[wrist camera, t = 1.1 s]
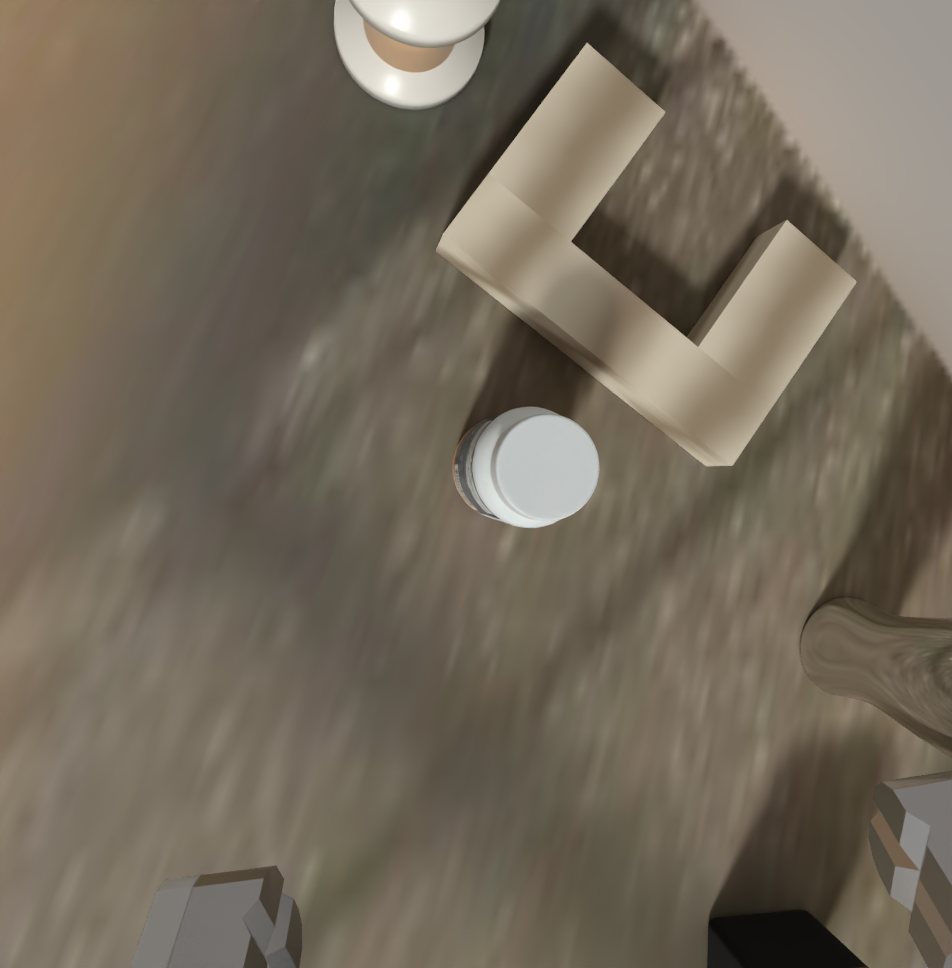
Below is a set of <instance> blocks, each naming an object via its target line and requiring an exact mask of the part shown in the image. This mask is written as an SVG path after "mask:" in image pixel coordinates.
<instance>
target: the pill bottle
mask: <svg viewBox="0 0 952 968" xmlns="http://www.w3.org/2000/svg"><path fill="white" fill-rule="evenodd" d="M598 476H599V459H598V454H597V450H596V447H595V445H594V443H593V441H592V439H591V438H590V436H589V435H588V433H587V432H586V431H585V430H584V429H583V428H582V427H581V426H580V425H578V424H577V423H576V422H574V421H572V420H571V419H569V418H566V417H564V416H560V415H559V414H557V413H555V412H553V411H550V410H547V409H544V408H541V407H519V408H515V409H511V410H508V411H506V412H503V413H501V414H498V415H496V416H493V417H490V418H488V419H485V420H483V421H482V422H480V423H478V424H476V425H475V426H474V427H472V428H471V429H470V430H469V431H468V432H467V433H466V434H465V435H464V436H463V438H462V439H461V441H460V442H459V444H458V446H457V449H456V451H455V455H454V459H453V477H454V481H455V484H456V487H457V489H458V492H459V493H460V495H461V497H462V498H463V499H464V501H465V502H466V503H467V504H468V505H469V506H470V507H471V508H472V509H474V510H475V511H477V512H478V513H480V514H482V515H485V516H487V517H490V518H492V519H495V520H497V521H501V522H505V523H508V524H510V525H514V526H518V527H523V528H538V527H543V526H547V525H550V524H553V523H555V522H557V521H559V520H560V519H563V518H565V517H568V516H570V515H572V514H574V513H575V512H577V511H578V510H579V509H581V508H582V507H583V506H584V505H585V504H586V502H587V501H588V500H589V498H590V497H591V495H592V493H593V492H594V490H595V487H596V484H597V481H598Z"/></svg>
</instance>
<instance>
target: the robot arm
mask: <svg viewBox="0 0 952 968" xmlns="http://www.w3.org/2000/svg"><path fill="white" fill-rule="evenodd" d="M874 801H875V802H876V804H877V806H878V808H879V810H880V812H879V813H878V814H877V815H876V816H875V817H874V818H873V819H872V820H871V821H870V830H869V841H870V846H871V851H872V856H873V860H874V862H875V865H876V867H877V870H878V873H879V875H880V877H881V879H882V881H883V883H884V885H885V887H886V889H887V891H888V893H889V895H890V896H891V897H892V898H894V899H895V900H896V901H898V902H899V903H901V904H902V905H903V906H905V907H906V908H907V909H909V910H910V911H911V919H910V925H909V933H910V934H911V936H912V938H913V940H914V942H915V944H916V946H917V947H918V949H919V951H920V953H921V955H922V957H923V959H924V960H925V962H926V964H927V966H928V968H952V771H947V772H940V773H934V774H927V775H921V776H914V777H908V778H902V779H895V780H889V781H882V782H880V783H879V784H878V785H877V786H876V789H875V795H874ZM283 882H284V878H283V877H282V875H281V873H280V871H279V870H278V868H277V866H269V867H261V868H253V869H245V870H237V871H229V872H222V873H214V874H201V875H194V876H187V877H180V878H173V879H166V880H165V881H164V883H163V884H162V885H161V887H160V888H159V890H158V891H157V893H156V894H155V897H154V900H153V903H152V906H151V908H150V911H149V914H148V917H147V920H146V923H145V925H144V928H143V931H142V934H141V937H140V940H139V942H138V945H137V948H136V951H135V954H134V957H133V959H132V962H131V965H130V968H299V966H300V959H301V953H302V923H301V918H300V913H299V909H298V907H297V905H296V903H295V900H294V898H292V897H290V896H288V895H286V894H284V893H282V888H283Z"/></svg>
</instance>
